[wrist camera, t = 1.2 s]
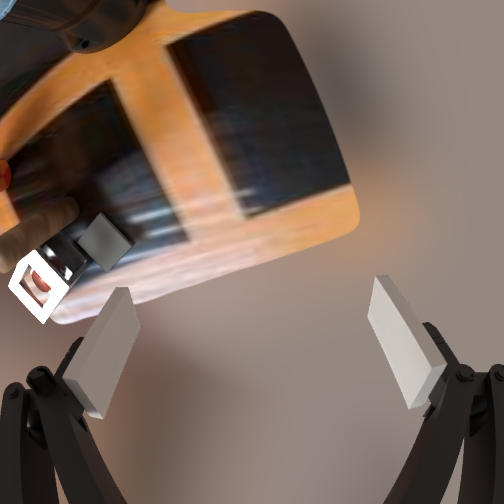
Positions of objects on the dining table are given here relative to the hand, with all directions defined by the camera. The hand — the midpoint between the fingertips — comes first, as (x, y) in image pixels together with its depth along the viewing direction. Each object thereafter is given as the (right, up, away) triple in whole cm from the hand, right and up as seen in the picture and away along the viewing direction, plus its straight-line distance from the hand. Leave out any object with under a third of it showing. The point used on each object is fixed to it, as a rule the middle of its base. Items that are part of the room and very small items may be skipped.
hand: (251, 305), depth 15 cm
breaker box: (-33, +1, +27) cm, 43 cm away
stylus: (-28, +9, +23) cm, 38 cm away
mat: (-23, +4, +26) cm, 34 cm away
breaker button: (-33, -1, +25) cm, 41 cm away
